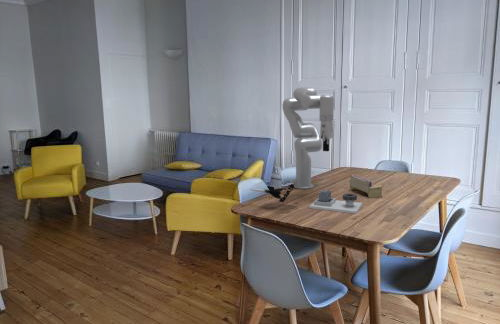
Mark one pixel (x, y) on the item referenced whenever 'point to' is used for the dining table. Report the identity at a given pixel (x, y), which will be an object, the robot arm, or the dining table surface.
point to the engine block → (325, 196)
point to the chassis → (337, 206)
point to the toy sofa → (365, 186)
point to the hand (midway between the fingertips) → (325, 151)
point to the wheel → (349, 197)
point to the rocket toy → (276, 192)
